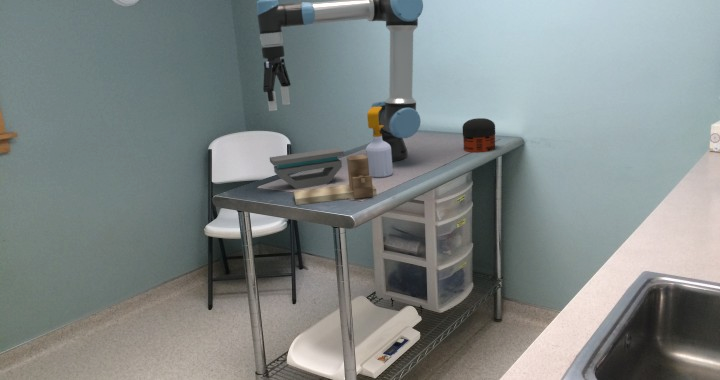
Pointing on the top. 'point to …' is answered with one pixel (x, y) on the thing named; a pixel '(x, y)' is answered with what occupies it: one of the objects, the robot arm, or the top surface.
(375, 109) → the soap bottle
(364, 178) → the notched wooden block
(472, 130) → the oil filter
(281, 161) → the grey slotted trapezoid block
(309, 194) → the board
